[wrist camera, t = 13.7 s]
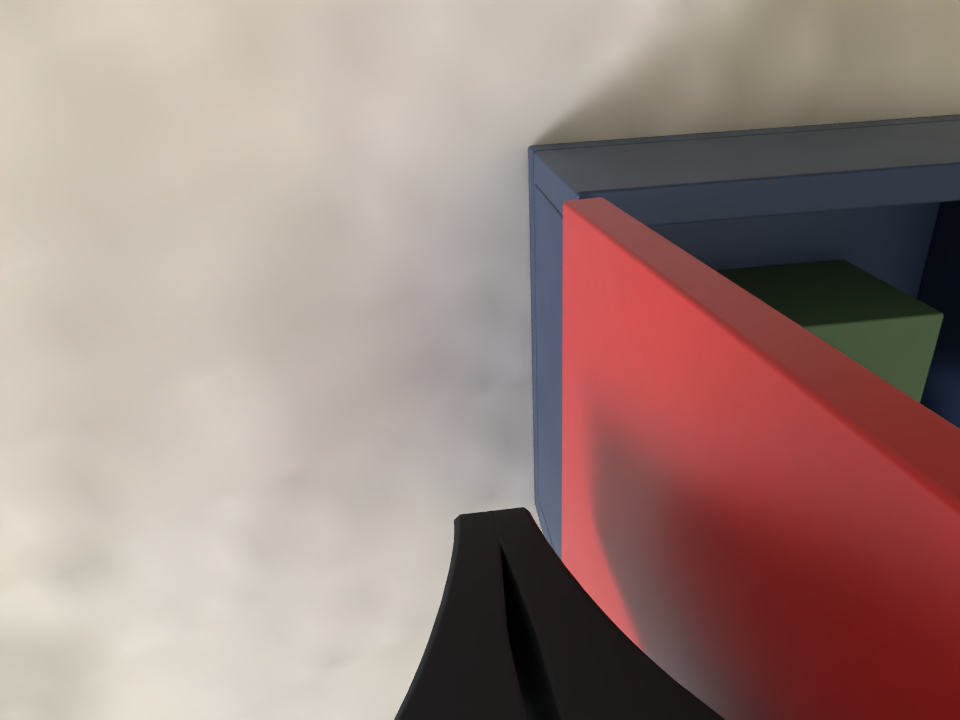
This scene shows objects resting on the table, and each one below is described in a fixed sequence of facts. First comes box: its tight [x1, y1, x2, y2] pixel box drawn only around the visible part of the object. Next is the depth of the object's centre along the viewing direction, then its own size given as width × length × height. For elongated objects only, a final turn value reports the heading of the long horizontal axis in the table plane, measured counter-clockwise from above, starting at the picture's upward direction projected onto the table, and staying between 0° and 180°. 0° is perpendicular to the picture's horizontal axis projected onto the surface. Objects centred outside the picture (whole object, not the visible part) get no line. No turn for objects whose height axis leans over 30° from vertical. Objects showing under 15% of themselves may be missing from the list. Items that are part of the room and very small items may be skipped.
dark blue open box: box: [528, 115, 960, 561], centre depth 19 cm, size 12×12×5 cm
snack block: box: [717, 260, 944, 403], centre depth 18 cm, size 4×4×4 cm
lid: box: [562, 197, 960, 720], centre depth 10 cm, size 13×12×1 cm
